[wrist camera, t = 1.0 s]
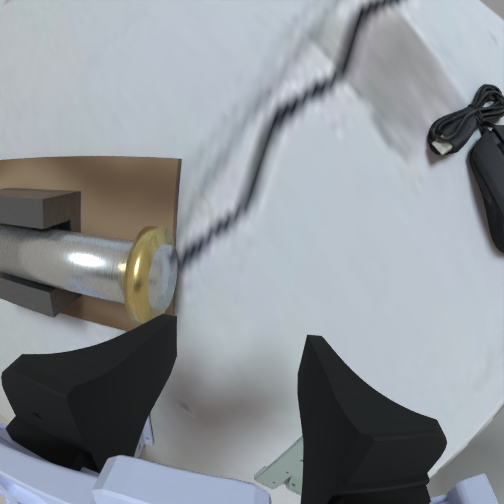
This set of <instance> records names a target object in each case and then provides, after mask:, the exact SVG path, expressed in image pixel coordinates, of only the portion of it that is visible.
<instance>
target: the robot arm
mask: <svg viewBox="0 0 504 504" xmlns="http://www.w3.org/2000/svg"><path fill="white" fill-rule="evenodd" d="M176 357H177V316H172V315H167V314H161V315H159V316H157V317H155V318H153V319H151V320H149V321H148V322H146V323H144V324H142V325H140V326H138V327H136V328H135V329H133V330H131V331H129V332H126V333H124V334H122V335H120V336H118V337H116V338H113V339H111V340H108V341H106V342H103V343H100V344H97V345H94V346H90V347H86V348H82V349H78V350H73V351H68V352H62V353H53V354H22V355H21V356H20V357H19V358H17V359H16V360H15V361H14V362H13V363H12V364H11V365H10V366H9V367H8V368H6V369H5V370H4V371H3V372H2V376H1V379H2V386H3V389H4V392H5V394H6V396H7V398H8V400H9V403H10V405H11V407H12V409H13V411H14V413H15V415H16V416H15V418H14V419H13V420H12V421H11V422H10V423H9V425H8V426H7V425H5V424H4V423H2V422H1V421H0V494H1V495H2V496H3V498H4V500H5V502H6V504H271V503H272V502H271V498H270V494H269V493H268V492H267V491H265V490H263V489H262V488H260V487H258V486H256V485H255V484H253V483H249V482H245V481H241V480H237V479H232V478H225V477H219V476H213V475H207V474H202V473H197V472H192V471H187V470H183V469H178V468H174V467H170V466H166V465H162V464H158V463H155V462H151V461H148V460H144V459H141V458H139V456H140V453H141V451H142V449H143V447H144V444H146V445H149V446H152V445H153V443H154V441H153V436H152V430H151V424H150V417H149V414H150V412H151V410H152V408H153V406H154V404H155V402H156V400H157V399H158V397H159V395H160V393H161V391H162V389H163V387H164V385H165V384H166V382H167V380H168V378H169V376H170V374H171V371H172V368H173V366H174V363H175V360H176ZM298 402H299V410H300V418H301V426H302V434H303V478H302V494H301V504H498V502H497V499H496V497H495V495H494V492H493V490H492V488H491V486H490V484H489V482H488V480H487V477H486V475H485V474H480V475H477V476H474V477H471V478H468V479H465V480H462V481H460V482H458V483H457V484H455V485H454V486H453V487H452V488H451V489H450V490H449V491H448V493H447V494H445V495H441V496H437V497H433V498H430V496H429V493H428V490H427V487H426V484H428V483H429V477H428V474H427V473H428V471H429V470H430V469H431V468H432V467H433V465H434V464H435V463H436V462H437V461H438V459H439V458H440V457H441V455H442V454H443V452H444V450H445V448H446V445H447V440H446V437H445V435H444V433H443V431H442V429H441V427H440V425H439V423H438V421H437V420H436V419H433V418H430V417H427V416H424V415H421V414H419V413H416V412H414V411H411V410H409V409H407V408H405V407H403V406H401V405H399V404H397V403H395V402H393V401H392V400H390V399H388V398H387V397H385V396H384V395H382V394H380V393H379V392H378V391H376V390H375V389H373V388H372V387H371V386H369V385H368V384H367V383H366V382H364V381H363V380H362V379H361V378H360V377H359V376H358V375H356V374H355V373H354V372H353V371H352V370H351V369H350V368H349V367H348V366H347V365H346V364H345V363H344V361H343V360H342V359H341V358H340V357H339V356H338V355H337V354H336V352H335V351H334V350H333V349H332V348H331V346H330V345H329V344H328V343H327V342H326V340H325V339H324V338H323V337H322V336H315V335H307V338H306V342H305V346H304V351H303V355H302V359H301V363H300V367H299V371H298Z"/></svg>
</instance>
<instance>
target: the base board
mask: <svg viewBox="0 0 504 504" xmlns="http://www.w3.org/2000/svg"><path fill="white" fill-rule="evenodd" d="M181 160H182V159H174V158H154V157H122V156H72V157H42V158H24V159H10V160H0V189H4V188H22V189H50V190H71V191H81V233H85V234H92V235H100V236H107V237H114V238H122V239H129V240H135V238H136V236H137V235H138V233H139V232H140V231H141V230H142V229H143V228H144V227H146V226H157V227H166V228H168V229H169V230H170V231H171V233H172V236H173V239H174V245H175V244H176V225H177V209H178V195H179V182H180V170H181ZM60 313H64V314H67V315H70V316H74V317H77V318H81V319H84V320H88V321H92V322H95V323H99V324H103V325H107V326H111V327H114V328H119V329H123V330H127V331H131V330H133V329H135V328H136V327H138V326H140V325H142V324H140V323H135V322H133V321H132V320H131V319H130V317H129V315H128V313H127V310H126V307H125V304H124V303H119V302H114V301H110V300H105V299H101V298H97V297H92V296H88V295H84V294H83V295H82V296H81V297H79V298H78V299H77V300H75V301H74V302H73V303H72V304H70V305H69V306H68V307H66V308H65V309H64V310H63V311H61V312H60ZM164 314H167V315H172V316H174V294H173V298H172V300H171V303H170V305H169V307H168V308H167V309H166V311H165V313H164Z"/></svg>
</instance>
